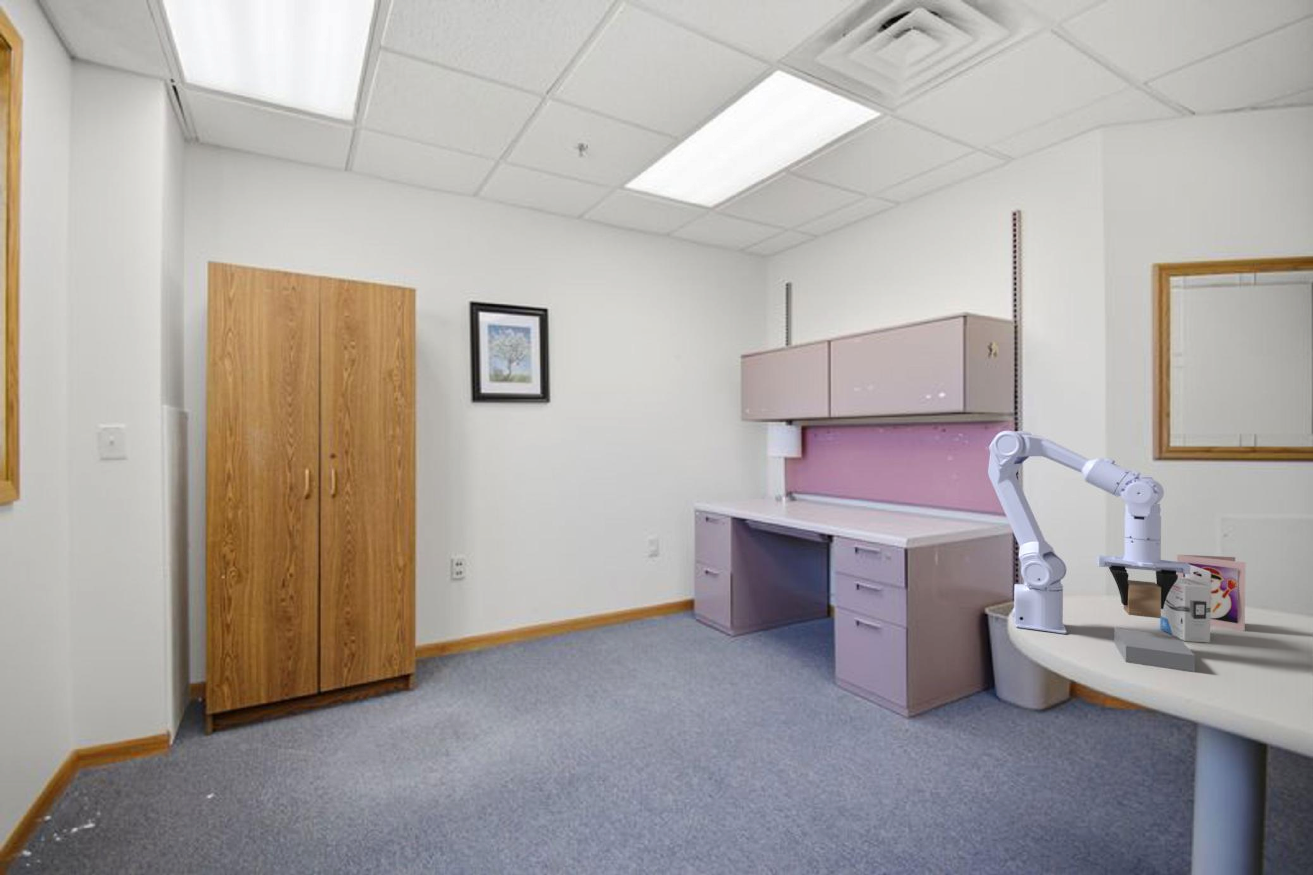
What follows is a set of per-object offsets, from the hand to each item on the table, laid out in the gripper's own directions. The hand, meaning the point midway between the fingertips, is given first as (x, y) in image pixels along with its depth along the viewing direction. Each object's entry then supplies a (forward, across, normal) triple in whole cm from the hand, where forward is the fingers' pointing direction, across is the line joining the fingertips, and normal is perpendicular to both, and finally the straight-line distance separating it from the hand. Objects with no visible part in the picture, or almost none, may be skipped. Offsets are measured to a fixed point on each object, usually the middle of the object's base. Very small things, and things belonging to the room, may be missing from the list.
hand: (1141, 605), depth 122 cm
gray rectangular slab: (+8, +1, -5) cm, 10 cm away
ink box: (+9, +10, +14) cm, 19 cm away
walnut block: (+2, 0, 0) cm, 2 cm away
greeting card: (+9, +18, +29) cm, 35 cm away
